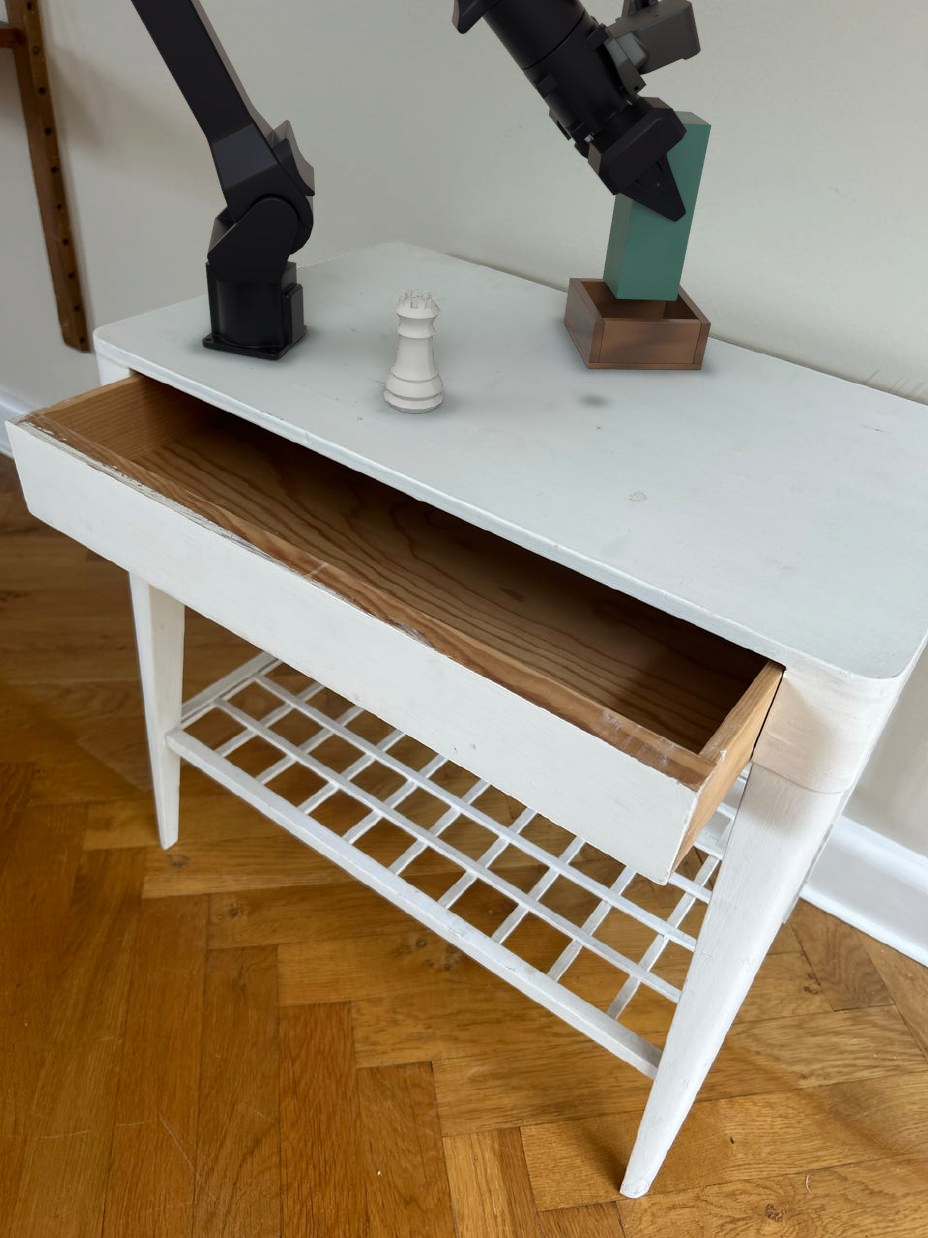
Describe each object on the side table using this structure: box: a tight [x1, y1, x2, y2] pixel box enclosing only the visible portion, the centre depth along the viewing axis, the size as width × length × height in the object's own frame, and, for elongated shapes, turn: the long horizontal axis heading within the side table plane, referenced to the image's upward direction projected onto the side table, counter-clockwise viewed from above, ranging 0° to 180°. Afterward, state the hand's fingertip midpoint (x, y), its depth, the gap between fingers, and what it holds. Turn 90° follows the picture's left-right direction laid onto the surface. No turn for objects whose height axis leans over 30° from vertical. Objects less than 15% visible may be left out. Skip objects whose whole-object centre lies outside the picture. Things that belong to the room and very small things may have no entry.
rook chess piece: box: [383, 288, 444, 414], centre depth 72 cm, size 4×4×8 cm
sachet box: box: [602, 110, 712, 301], centre depth 79 cm, size 5×5×13 cm
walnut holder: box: [563, 277, 712, 371], centre depth 85 cm, size 10×10×4 cm
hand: (670, 206), depth 79 cm, fingers closed on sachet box, 5 cm apart
